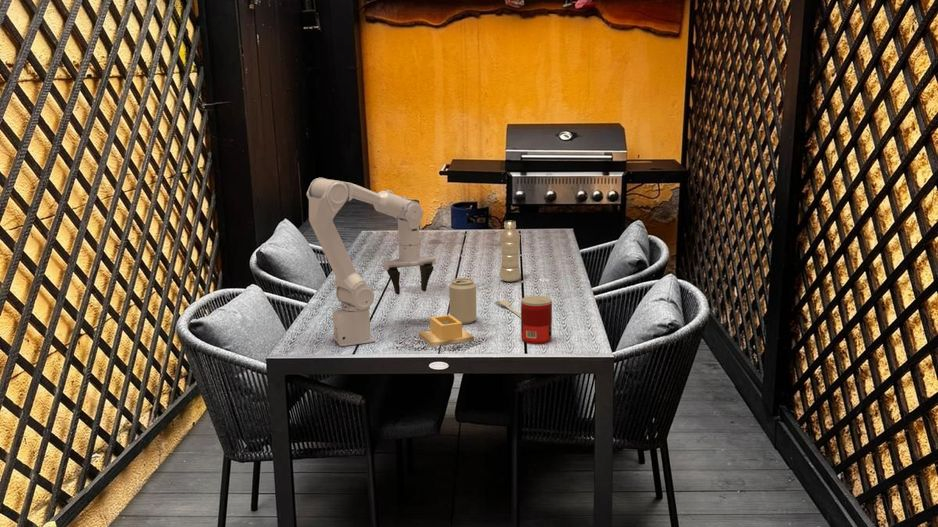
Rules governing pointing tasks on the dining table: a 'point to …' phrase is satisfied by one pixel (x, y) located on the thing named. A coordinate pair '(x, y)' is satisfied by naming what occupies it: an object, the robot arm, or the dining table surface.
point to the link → (446, 327)
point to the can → (463, 300)
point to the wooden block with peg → (435, 341)
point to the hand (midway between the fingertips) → (410, 292)
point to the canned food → (536, 319)
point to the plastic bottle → (510, 252)
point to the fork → (507, 303)
